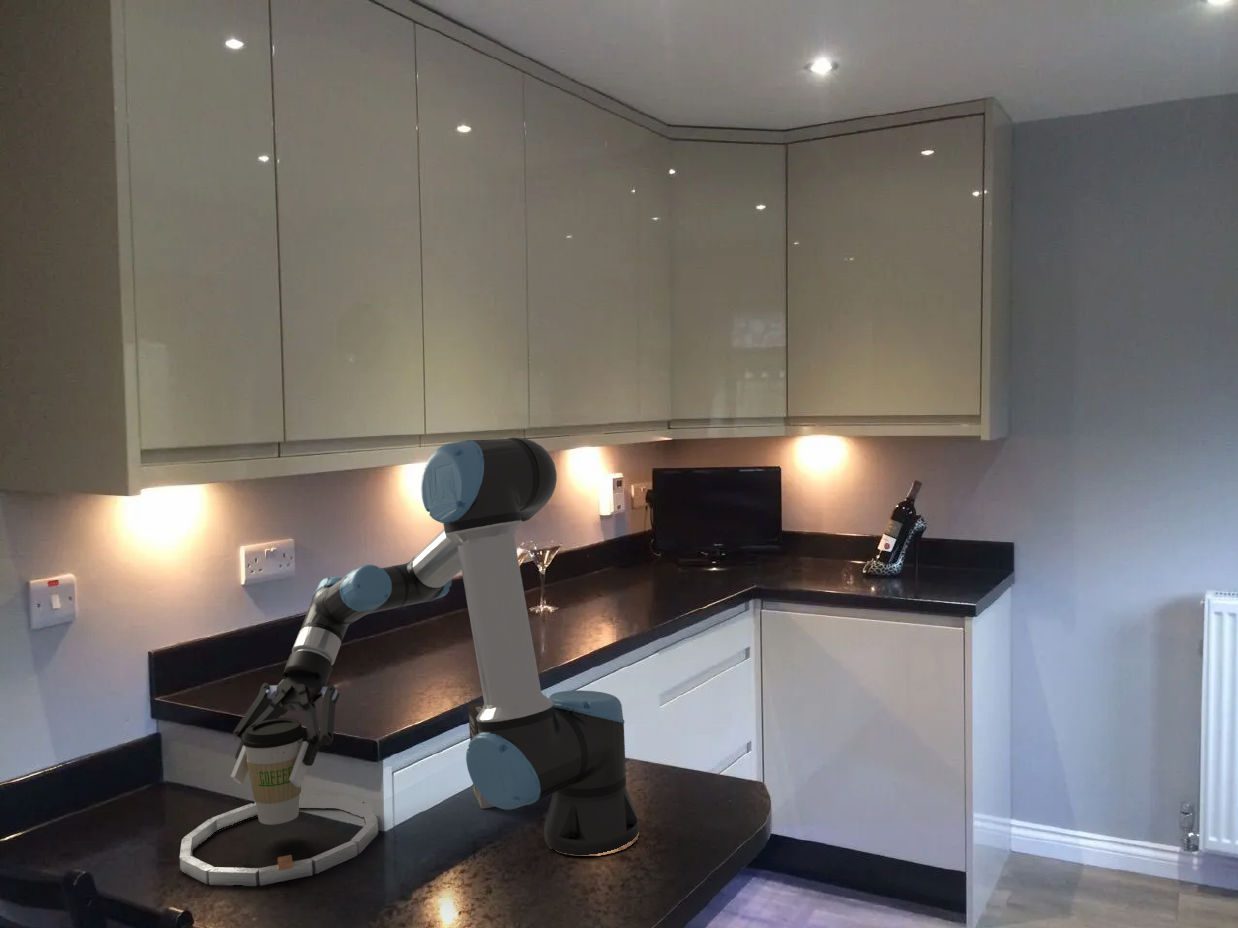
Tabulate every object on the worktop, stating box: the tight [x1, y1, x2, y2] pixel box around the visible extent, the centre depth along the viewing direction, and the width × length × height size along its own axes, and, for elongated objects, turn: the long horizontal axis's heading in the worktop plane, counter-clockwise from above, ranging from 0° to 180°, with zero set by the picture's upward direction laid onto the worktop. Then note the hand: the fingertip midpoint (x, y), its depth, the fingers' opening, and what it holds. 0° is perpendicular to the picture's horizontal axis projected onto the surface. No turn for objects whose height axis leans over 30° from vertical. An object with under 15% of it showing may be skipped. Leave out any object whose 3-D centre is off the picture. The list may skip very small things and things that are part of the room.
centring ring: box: [179, 801, 379, 887], centre depth 163 cm, size 31×30×3 cm
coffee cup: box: [242, 717, 306, 826], centre depth 163 cm, size 10×10×15 cm
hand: (265, 781), depth 160 cm, fingers closed on coffee cup, 10 cm apart
